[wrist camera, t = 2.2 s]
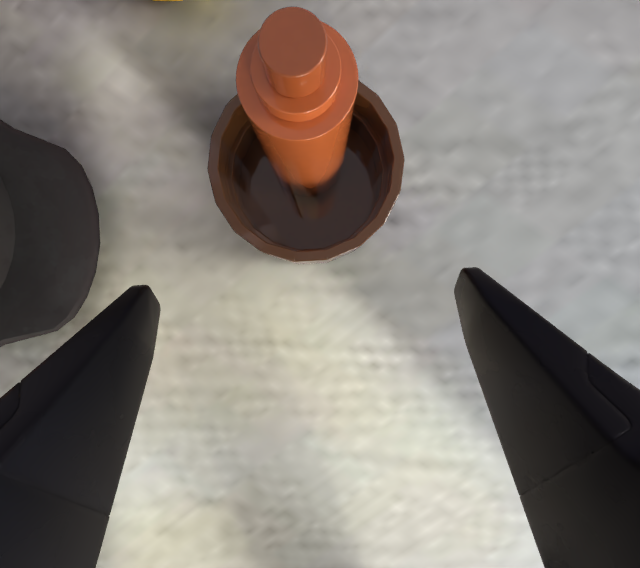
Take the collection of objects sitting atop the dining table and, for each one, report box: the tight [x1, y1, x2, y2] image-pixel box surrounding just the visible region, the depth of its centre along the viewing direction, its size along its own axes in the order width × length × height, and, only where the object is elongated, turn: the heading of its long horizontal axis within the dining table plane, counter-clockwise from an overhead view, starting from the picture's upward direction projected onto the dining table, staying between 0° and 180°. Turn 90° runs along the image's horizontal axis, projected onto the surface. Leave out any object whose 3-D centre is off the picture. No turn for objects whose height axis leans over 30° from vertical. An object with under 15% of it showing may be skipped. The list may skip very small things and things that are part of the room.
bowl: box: [208, 80, 404, 264], centre depth 21 cm, size 11×11×4 cm
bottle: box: [236, 7, 358, 197], centre depth 17 cm, size 5×5×12 cm
